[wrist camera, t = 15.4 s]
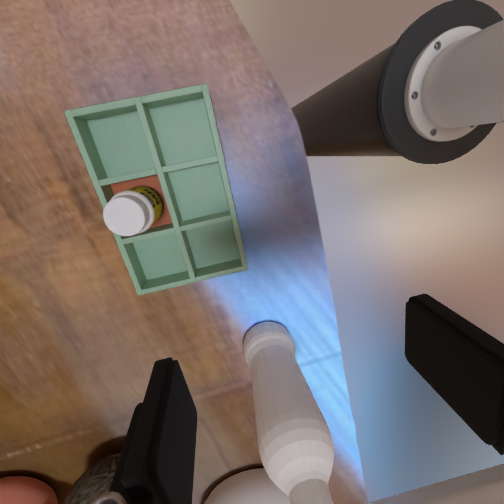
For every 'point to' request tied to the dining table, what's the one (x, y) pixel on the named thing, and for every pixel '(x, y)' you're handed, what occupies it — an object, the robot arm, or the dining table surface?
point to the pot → (248, 490)
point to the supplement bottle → (133, 210)
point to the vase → (94, 481)
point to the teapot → (25, 491)
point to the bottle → (288, 418)
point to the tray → (165, 183)
